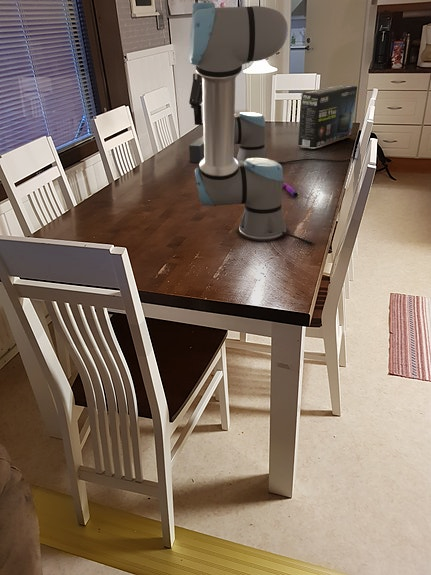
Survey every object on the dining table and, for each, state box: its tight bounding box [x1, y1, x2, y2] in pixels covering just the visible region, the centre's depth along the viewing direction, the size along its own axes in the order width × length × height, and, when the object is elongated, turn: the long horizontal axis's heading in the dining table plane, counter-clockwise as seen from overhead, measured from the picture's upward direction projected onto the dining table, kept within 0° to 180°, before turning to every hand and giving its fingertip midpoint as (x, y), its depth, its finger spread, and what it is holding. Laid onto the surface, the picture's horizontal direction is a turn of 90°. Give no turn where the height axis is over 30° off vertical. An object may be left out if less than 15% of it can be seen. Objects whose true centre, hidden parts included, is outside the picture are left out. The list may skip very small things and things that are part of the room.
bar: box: [188, 134, 204, 164], centre depth 232 cm, size 29×5×8 cm, turn 162°
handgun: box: [282, 179, 299, 198], centre depth 183 cm, size 21×8×2 cm, turn 11°
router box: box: [297, 84, 358, 151], centre depth 238 cm, size 36×11×27 cm, turn 134°
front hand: (208, 121), depth 166 cm, fingers open, 13 cm apart
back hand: (210, 123), depth 236 cm, fingers open, 13 cm apart
